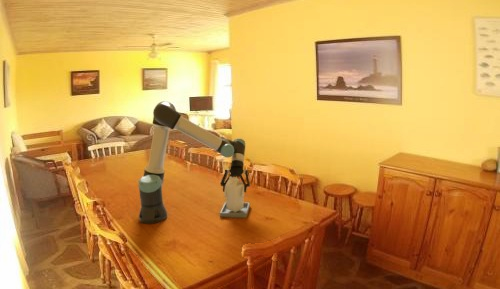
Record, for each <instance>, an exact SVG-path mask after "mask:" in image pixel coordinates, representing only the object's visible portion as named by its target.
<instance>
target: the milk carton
mask: <svg viewBox="0 0 500 289" xmlns="http://www.w3.org/2000/svg"><path fill="white" fill-rule="evenodd" d="M228 177H229V176H228ZM243 186H244V184H243V182H242V181H241V180H240V178H239V177H229V180H228V182H227V183H226V198H225V202H226V206H227V209H228V210H231V211H234V212H237V211H239V210H241V209H243V208H244V203H245V201H244V198H242V190H243Z"/></svg>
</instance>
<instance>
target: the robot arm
mask: <svg viewBox="0 0 500 289" xmlns="http://www.w3.org/2000/svg"><path fill="white" fill-rule="evenodd" d="M152 116H153V117H152V125H153V126H154V127H153V128H154V129H153V134H152V140H151V147H150V151H149V157H148V158H149V159H148V164H147V166H145V167H144V170H143V176H142V177H140V178H139V180H138V190H139V199H140V210H139V214H138V219H139V220H138V221H139V222H140V223H142V224H147V225H151V224H156V223H160V222H162V221H164V220H166V218H167V217H168V212H167V209H166V206H165V205H164V201H163V190H162V189H163V184H164V181H165V180H164V178H165V172H166V170H165V169H164V164H165V159H166V153H167V147H168V142H169V136H170V131H171V130H173V131H175V130H176V131H179V132H180V133H182V134H184V135H186V136H188V137H190V138H191V139H194V140H195V141H197V142H198V143H201V144H202V145H205V146H206V147H208V148H210V149H212V150H214V151H215V152H217V153H219V154H221V156H223V157H224V158H230V157H231V162H230V168H229V169H224V174H223V176H222V178H221V181H220V186H221V187H222V193H223V197H224V199H226V183H227V182H228V180H229V177H234V178H239V180H240V181H241V183H243V190H242V198H243V199H244V198H245V193H247V190H248V189H247V188H248V187H249V188H250V187H251V184H250V178H249V170H248V169H244V164H245V152H246V141H245V140H244V139H243V138H235V139H234V140H231V139H227V138H223V137H219V136H217V135H215V134H213V133H212V132H210V131H208V130H206V129H205V128H203V127H201V126H200V125H197V124H196V123H195V122H192V121H191V120H189V119H187V118H185V117H184V116H183V114H182V113H181V112H178V111H177V109H176V107H175V105H174V104H172V103H171V102H169V101H161V102H158V103H157V104H156V105H155V107H154V109H153V114H152ZM229 173H230V174H229ZM228 174H229V176H228ZM243 174H244V176H245V178H243ZM245 179H246V181H245Z"/></svg>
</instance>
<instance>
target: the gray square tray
mask: <svg viewBox="0 0 500 289" xmlns="http://www.w3.org/2000/svg"><path fill="white" fill-rule="evenodd" d="M250 206H251V204H250V202H244V208H243V209H241V210H239V211H237V212H234V211H231V210H228V209H227V206H226V201H224V203H223V206H222V208H221V210H220V212H219V217H220V218H235V219H237V218H238V219H240V218H241V219H247V218H248V214H249V211H250Z"/></svg>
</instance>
